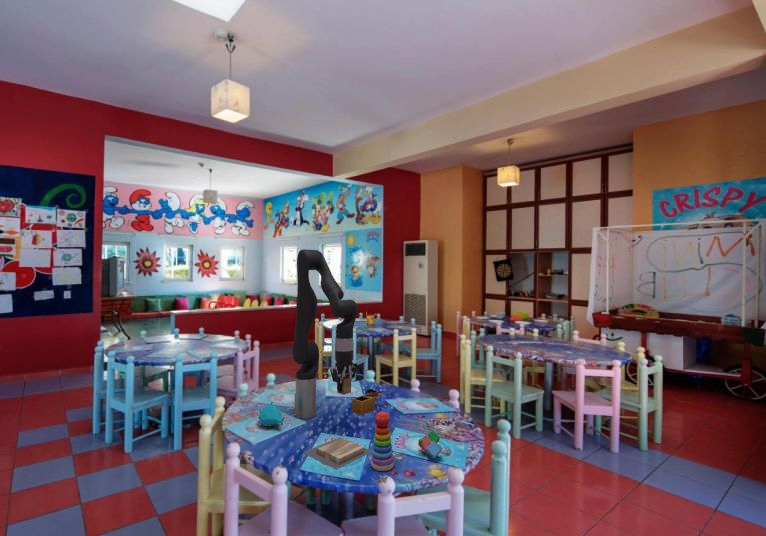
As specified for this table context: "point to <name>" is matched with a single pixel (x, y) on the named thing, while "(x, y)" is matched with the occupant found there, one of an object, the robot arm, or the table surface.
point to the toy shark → (270, 416)
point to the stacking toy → (382, 444)
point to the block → (346, 385)
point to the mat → (328, 462)
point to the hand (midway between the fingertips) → (343, 390)
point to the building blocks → (430, 444)
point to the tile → (340, 450)
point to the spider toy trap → (365, 402)
